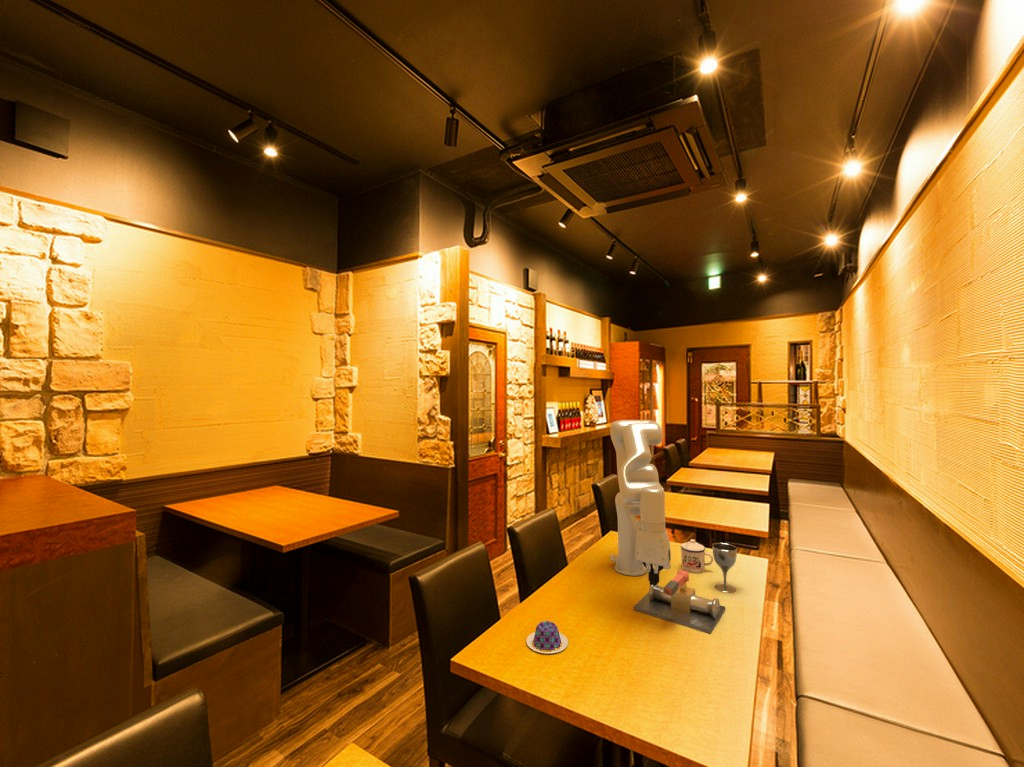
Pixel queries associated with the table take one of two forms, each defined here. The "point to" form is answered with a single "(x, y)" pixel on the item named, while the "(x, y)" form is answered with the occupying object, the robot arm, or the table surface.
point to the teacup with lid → (694, 557)
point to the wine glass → (724, 563)
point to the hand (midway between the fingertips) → (654, 583)
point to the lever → (676, 582)
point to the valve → (682, 607)
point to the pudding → (547, 638)
